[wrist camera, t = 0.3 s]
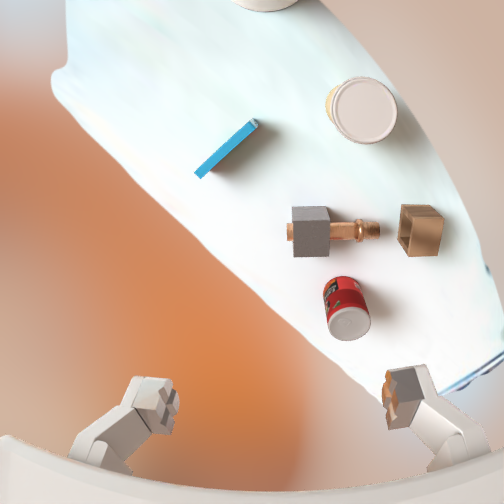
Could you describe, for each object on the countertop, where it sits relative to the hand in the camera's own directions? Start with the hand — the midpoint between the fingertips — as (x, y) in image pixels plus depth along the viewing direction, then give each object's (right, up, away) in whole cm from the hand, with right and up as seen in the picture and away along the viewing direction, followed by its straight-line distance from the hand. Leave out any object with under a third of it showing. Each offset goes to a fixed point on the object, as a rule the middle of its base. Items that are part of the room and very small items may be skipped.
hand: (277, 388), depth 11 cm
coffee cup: (+15, +29, +36) cm, 49 cm away
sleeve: (+9, +10, +47) cm, 49 cm away
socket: (+30, +11, +45) cm, 55 cm away
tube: (+13, +10, +45) cm, 48 cm away
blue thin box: (-5, +23, +41) cm, 48 cm away
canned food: (+17, -3, +53) cm, 56 cm away
